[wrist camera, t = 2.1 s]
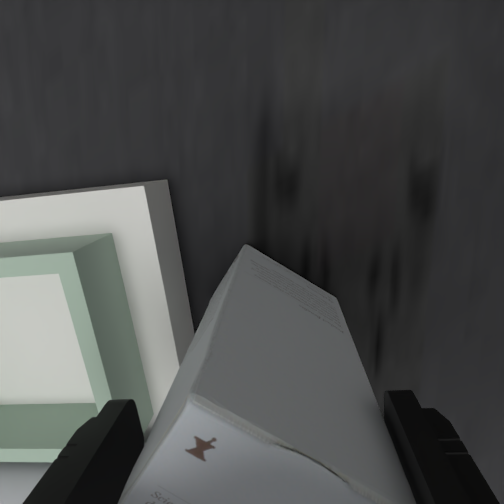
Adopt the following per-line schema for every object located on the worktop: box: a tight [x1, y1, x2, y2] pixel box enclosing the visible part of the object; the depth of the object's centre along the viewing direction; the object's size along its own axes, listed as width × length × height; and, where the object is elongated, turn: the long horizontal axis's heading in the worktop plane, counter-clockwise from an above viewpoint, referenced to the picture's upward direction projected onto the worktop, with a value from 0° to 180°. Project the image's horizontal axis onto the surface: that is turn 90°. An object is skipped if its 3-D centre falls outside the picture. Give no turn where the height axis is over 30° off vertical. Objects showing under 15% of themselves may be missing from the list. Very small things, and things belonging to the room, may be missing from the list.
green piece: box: [0, 233, 154, 462], centre depth 16 cm, size 10×10×3 cm
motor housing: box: [0, 179, 195, 504], centre depth 17 cm, size 14×18×8 cm
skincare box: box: [118, 244, 416, 504], centre depth 13 cm, size 6×4×12 cm
